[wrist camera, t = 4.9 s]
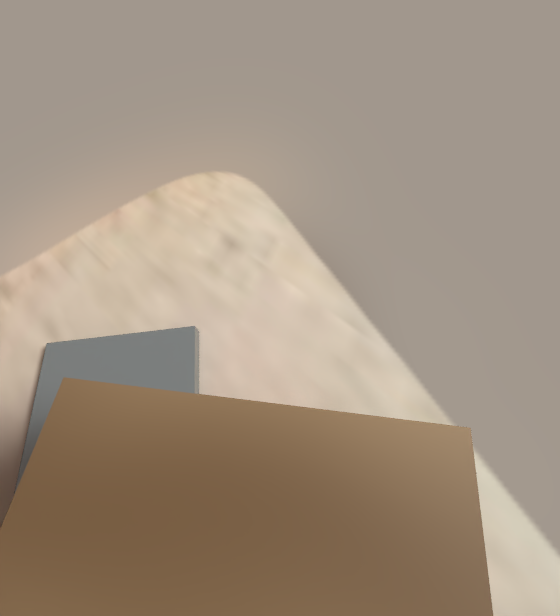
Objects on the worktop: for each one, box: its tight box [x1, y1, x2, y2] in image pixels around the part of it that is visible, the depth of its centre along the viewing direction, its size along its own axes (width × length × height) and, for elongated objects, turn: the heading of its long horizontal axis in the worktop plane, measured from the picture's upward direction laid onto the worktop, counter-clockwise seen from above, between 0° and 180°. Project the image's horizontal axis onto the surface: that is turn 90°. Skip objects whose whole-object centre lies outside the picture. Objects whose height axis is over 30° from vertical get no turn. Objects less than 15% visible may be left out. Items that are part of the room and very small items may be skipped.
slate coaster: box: [14, 326, 199, 495], centre depth 16 cm, size 8×8×1 cm
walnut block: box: [0, 377, 493, 616], centre depth 8 cm, size 6×6×12 cm
